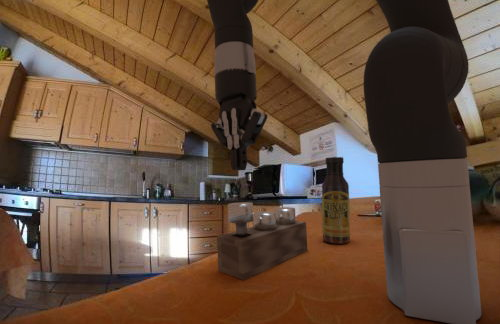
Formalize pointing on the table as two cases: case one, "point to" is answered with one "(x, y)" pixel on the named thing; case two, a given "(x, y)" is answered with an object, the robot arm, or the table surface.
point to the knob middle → (265, 221)
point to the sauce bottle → (335, 203)
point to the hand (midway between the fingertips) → (239, 170)
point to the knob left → (240, 216)
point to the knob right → (285, 215)
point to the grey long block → (260, 249)
